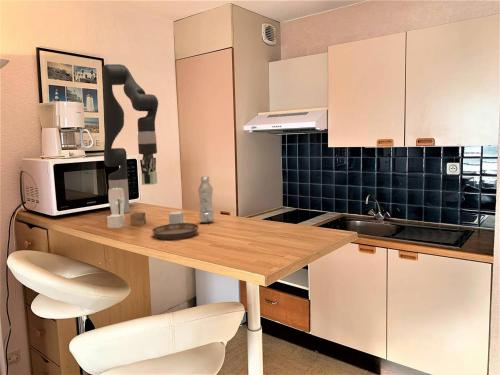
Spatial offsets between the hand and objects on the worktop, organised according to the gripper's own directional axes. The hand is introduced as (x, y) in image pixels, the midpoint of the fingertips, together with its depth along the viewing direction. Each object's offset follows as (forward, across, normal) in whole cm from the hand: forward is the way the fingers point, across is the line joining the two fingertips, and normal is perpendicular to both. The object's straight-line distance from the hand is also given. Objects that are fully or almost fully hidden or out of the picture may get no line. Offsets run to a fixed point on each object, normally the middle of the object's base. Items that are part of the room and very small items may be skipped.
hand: (149, 182), depth 168 cm
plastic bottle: (+19, -4, +23) cm, 30 cm away
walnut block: (+19, -2, -7) cm, 20 cm away
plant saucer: (+19, +18, +15) cm, 30 cm away
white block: (+19, +2, -15) cm, 24 cm away
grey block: (+19, -2, +10) cm, 21 cm away
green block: (+1, 0, 0) cm, 1 cm away
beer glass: (+19, -11, -20) cm, 30 cm away
